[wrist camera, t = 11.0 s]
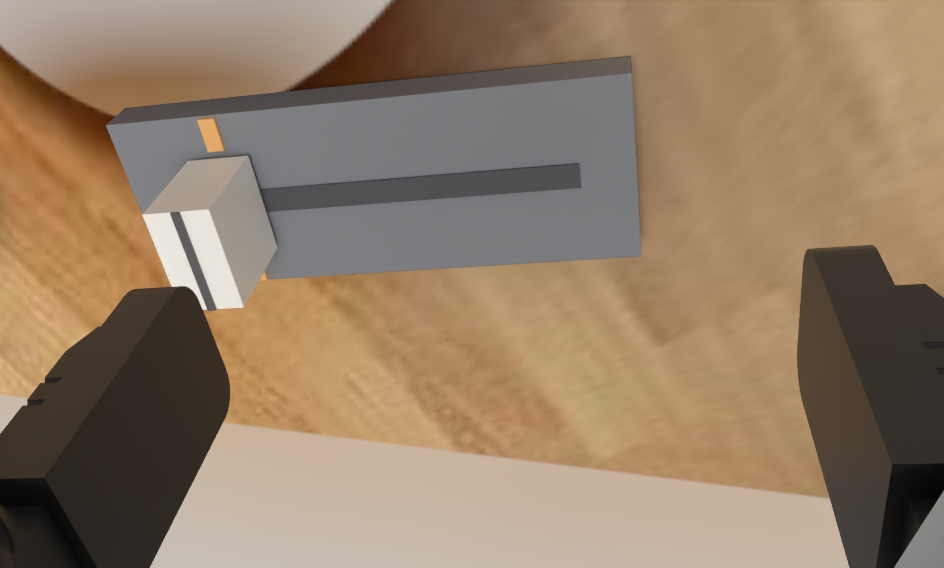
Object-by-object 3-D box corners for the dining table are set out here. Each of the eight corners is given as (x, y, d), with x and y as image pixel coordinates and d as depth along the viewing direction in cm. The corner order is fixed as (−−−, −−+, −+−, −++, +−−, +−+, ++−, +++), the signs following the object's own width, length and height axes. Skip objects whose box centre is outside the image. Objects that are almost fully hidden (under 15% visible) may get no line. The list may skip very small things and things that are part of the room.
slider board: (630, 56, 38) (632, 74, 36) (639, 234, 43) (641, 258, 41) (124, 108, 42) (103, 127, 40) (186, 264, 47) (169, 287, 45)
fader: (248, 155, 40) (207, 210, 36) (277, 247, 43) (243, 308, 39) (187, 161, 41) (141, 216, 37) (220, 251, 43) (180, 312, 39)
